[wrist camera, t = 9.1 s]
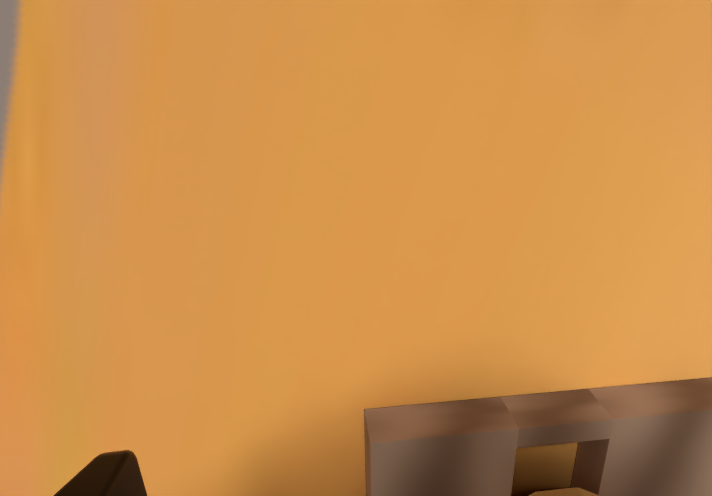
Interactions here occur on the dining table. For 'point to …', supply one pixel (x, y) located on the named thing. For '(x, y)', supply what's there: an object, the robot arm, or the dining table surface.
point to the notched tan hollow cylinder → (564, 492)
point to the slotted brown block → (547, 441)
